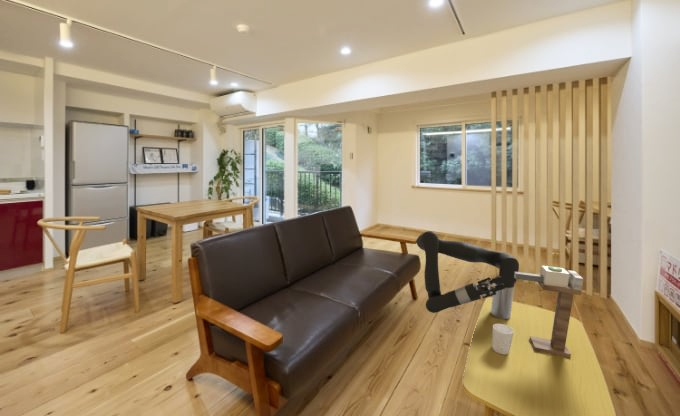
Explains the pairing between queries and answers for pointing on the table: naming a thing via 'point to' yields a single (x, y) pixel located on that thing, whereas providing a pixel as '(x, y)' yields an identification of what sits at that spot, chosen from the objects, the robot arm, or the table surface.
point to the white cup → (502, 338)
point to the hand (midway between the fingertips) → (502, 281)
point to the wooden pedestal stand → (560, 317)
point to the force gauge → (547, 276)
